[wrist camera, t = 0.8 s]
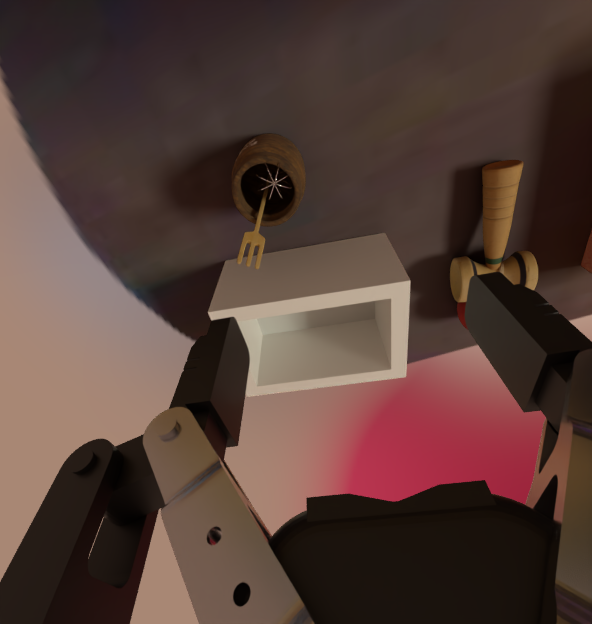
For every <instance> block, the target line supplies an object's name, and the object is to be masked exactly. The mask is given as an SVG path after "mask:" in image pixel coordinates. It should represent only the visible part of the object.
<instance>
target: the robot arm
mask: <svg viewBox="0 0 592 624" xmlns="http://www.w3.org/2000/svg"><path fill="white" fill-rule="evenodd" d="M465 322H466V326H467V328H468V330H469V332H470V333H471V335H472V336H473V338H474V339H475V341H476V342H477V344H478V345H479V347H480V348H481V349H482V351H483V353H484V354H485V356H486V357H487V358H488V360H489V361H490V363H491V364H492V366H493V367H494V369H495V370H496V372H497V373H498V375H499V376H500V378H501V379H502V381H503V382H504V384H505V385H506V387H507V388H508V390H509V391H510V393H511V394H512V395H513V397H514V398H515V400H516V401H517V403H518V404H519V406H520V407H521V409H522V410H523V412H532V411H540V410H541V411H542V412H543V414H544V415H545V416H546V419H545V422H544V424H543V430H542V436H541V441H540V446H539V451H538V457H537V462H536V468H535V473H534V478H533V483H532V486H531V489H530V492H529V495H528V498H527V501H526V505H524V504H522V503H520V502H517V501H515V500H512V499H509V498H506V497H503V496H499V495H495V494H491V492H490V490H489V488H488V486H487V484H486V482H485V480H482V481H472V482H462V483H452V484H441V485H437V486H435V487H433V488H430V489H427V490H425V491H422V492H420V493H418V494H415V495H413V496H410V497H408V498H406V499H403V500H400V501H396V502H392V501H386V500H380V499H375V498H369V497H364V496H358V495H353V494H340V495H330V496H320V497H311V498H307V511H304V512H302V513H300V514H298V515H296V516H295V517H293V518H292V519H290V520H289V521H288V522H286V523H285V524H284V525H283V526H281V527H280V528H279V530H277V531H276V533H274V535H273V536H272V535H271V534H270V532H269V531H268V529H267V528H266V526H265V524H264V523H263V521H262V520H261V518H260V517H259V515H258V514H257V512H256V511H255V509H254V507H253V506H252V504H251V502H250V501H249V499H248V498H247V496H246V494H245V493H244V491H243V489H242V488H241V486H240V485H239V483H238V481H237V480H236V478H235V476H234V475H233V474H232V472H231V470H230V468H229V467H228V465H227V464H226V462H225V460H224V455H225V450H226V447H233V446H238V441H239V434H240V427H241V420H242V414H243V407H244V399H245V393H246V386H247V379H248V372H249V365H250V355H249V350H248V347H247V344H246V342H245V339H244V337H243V335H242V332H241V330H240V327H239V325H238V323H237V320H236V319H235V317H228V318H222V319H216V320H212V322H211V324H210V327H209V330H208V333H207V335H206V336H200V338H199V339H198V340H197V341H196V342H195V344H194V345H193V346H192V347H191V350H190V353H189V355H188V358H187V362H186V364H185V366H184V371H183V372H182V375H181V377H180V380H179V383H178V386H177V388H176V391H175V394H174V397H173V400H172V402H171V405H170V407H169V409H168V410H166V411H164V412H162V413H160V414H159V415H158V416H157V417H156V418H154V419H153V420H152V421H151V423H150V424H149V425H148V427H147V429H146V430H145V433H144V434H143V435H141V436H139V437H137V438H134V439H132V440H130V441H127V442H125V443H123V444H120V445H118V446H116V447H115V446H114V445H113V444H112V443H110V442H109V441H108V440H106V439H96V440H93V441H90V442H88V443H86V444H84V445H82V446H81V447H79V448H78V449H77V450H75V451H74V452H73V453H72V454H71V455H70V456H69V457H68V459H67V460H66V461H65V462H64V464H63V465H62V467H61V469H60V471H59V473H58V474H57V476H56V478H55V480H54V482H53V484H52V486H51V488H50V489H49V491H48V493H47V495H46V497H45V499H44V501H43V503H42V504H41V506H40V508H39V510H38V512H37V514H36V516H35V518H34V520H33V522H32V523H31V525H30V527H29V529H28V531H27V533H26V535H25V536H24V538H23V540H22V542H21V544H20V546H19V548H18V550H17V551H16V553H15V555H14V557H13V559H12V561H11V563H10V565H9V567H8V568H7V570H6V572H5V574H4V576H3V578H2V580H1V582H0V624H130V620H131V616H132V612H133V608H134V604H135V600H136V596H137V593H138V588H139V584H140V581H141V577H142V573H143V569H144V565H145V561H146V557H147V553H148V549H149V545H150V542H151V537H152V534H153V530H154V526H155V522H156V518H157V514H158V510H159V509H160V508H162V509H161V516H162V520H163V523H164V526H165V528H166V531H167V534H168V537H169V540H170V543H171V545H172V548H173V551H174V554H175V557H176V560H177V562H178V565H179V568H180V571H181V574H182V577H183V579H184V582H185V585H186V588H187V591H188V593H189V596H190V599H191V602H192V605H193V608H194V610H195V613H196V616H197V619H198V622H199V624H592V342H591V341H590V340H589V339H588V338H587V337H586V336H585V335H583V334H582V333H581V332H580V331H579V330H578V329H577V328H576V327H575V326H574V325H572V324H571V323H570V322H569V321H568V320H567V319H566V318H565V317H564V316H563V315H561V314H559V313H558V311H557V310H556V309H555V308H554V307H553V306H552V305H549V303H548V302H547V301H546V300H545V299H544V298H543V297H542V296H541V295H539V294H538V293H537V292H536V291H534V290H531V289H529V288H527V287H525V286H523V285H521V284H515V285H514V284H513V283H512V282H510V281H509V280H508V279H507V278H506V277H505V276H504V275H503V274H502V273H501V272H492V273H486V274H481V275H475V276H472V277H471V279H470V282H469V288H468V294H467V301H466V307H465ZM103 517H104V519H103V522H102V524H101V521H102V518H103ZM100 524H101V527H100ZM99 527H100V529H99ZM98 529H99V532H98ZM97 532H98V535H97ZM96 535H97V537H96ZM95 537H96V540H95ZM94 540H95V543H94ZM93 543H94V546H93V548H92V545H93ZM91 548H92V551H91ZM90 551H91V553H90ZM89 553H90V556H89ZM88 557H89V559H88Z"/></svg>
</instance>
